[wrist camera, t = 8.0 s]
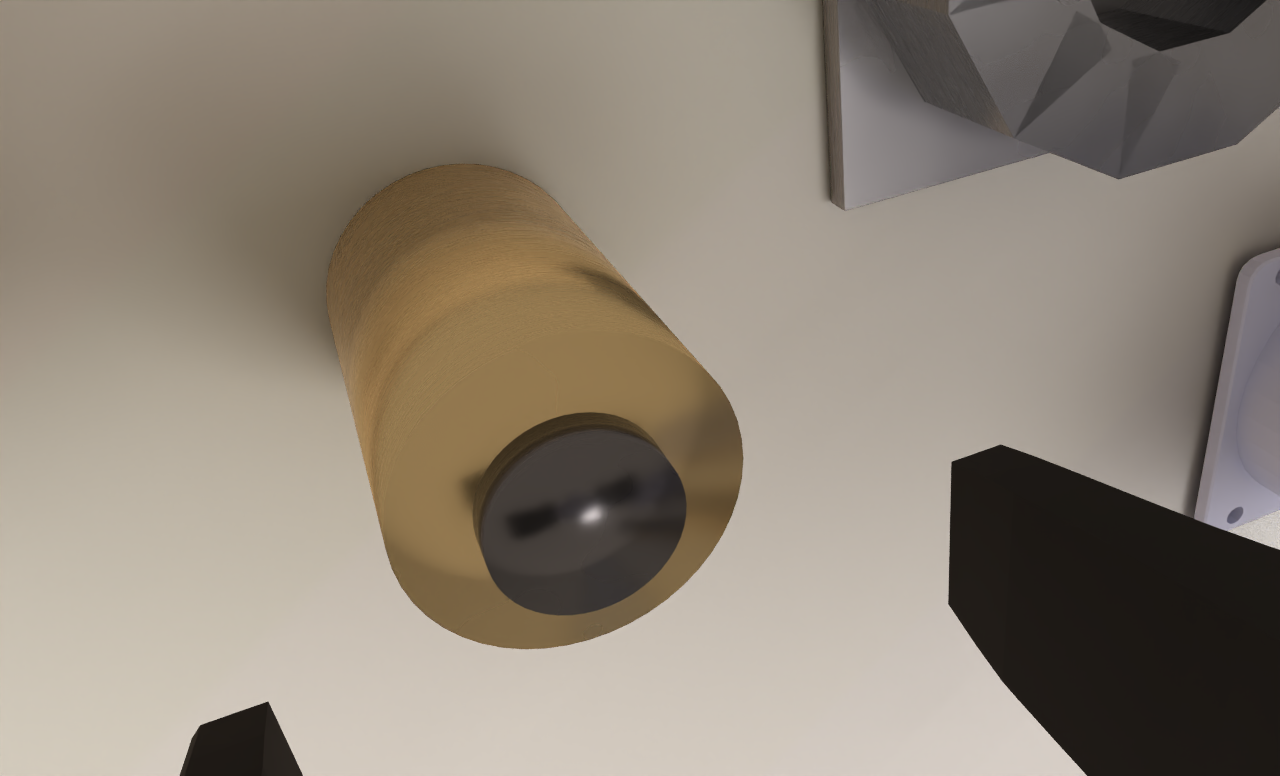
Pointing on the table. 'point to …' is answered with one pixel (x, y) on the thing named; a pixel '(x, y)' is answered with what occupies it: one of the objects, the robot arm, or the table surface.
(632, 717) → the table surface
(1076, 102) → the housing
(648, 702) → the table surface
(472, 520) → the tan cylinder
